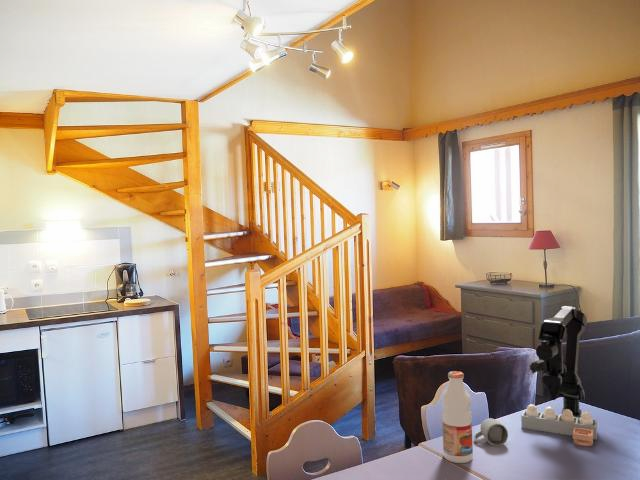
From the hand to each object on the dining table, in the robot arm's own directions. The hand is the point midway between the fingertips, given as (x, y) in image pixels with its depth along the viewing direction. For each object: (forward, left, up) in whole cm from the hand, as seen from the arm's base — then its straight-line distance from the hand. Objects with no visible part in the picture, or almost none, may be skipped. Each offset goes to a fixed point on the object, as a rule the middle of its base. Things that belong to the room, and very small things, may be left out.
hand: (555, 396), depth 193 cm
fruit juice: (+40, -25, -12) cm, 49 cm away
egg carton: (+2, +1, -12) cm, 12 cm away
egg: (+2, -2, -9) cm, 10 cm away
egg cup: (+10, +10, -12) cm, 18 cm away
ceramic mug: (+23, -19, -12) cm, 32 cm away
